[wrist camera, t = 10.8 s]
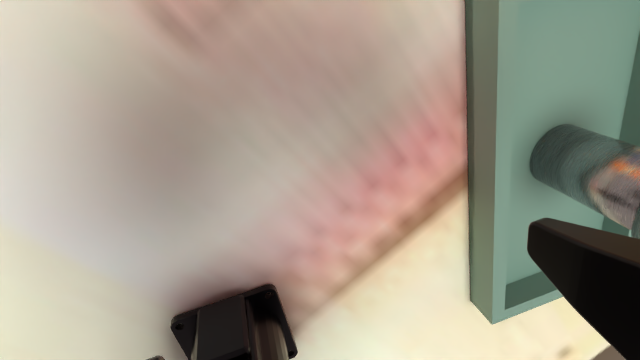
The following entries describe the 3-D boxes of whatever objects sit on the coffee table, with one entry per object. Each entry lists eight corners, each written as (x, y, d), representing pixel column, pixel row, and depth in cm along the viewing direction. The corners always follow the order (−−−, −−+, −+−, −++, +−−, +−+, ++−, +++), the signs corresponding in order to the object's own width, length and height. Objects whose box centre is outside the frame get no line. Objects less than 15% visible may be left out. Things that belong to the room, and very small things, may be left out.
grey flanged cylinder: (583, 177, 25) (727, 243, 18) (518, 199, 24) (641, 277, 17) (597, 105, 22) (769, 149, 16) (525, 127, 22) (671, 183, 15)
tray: (599, 251, 30) (630, 270, 28) (470, 300, 28) (492, 324, 26) (659, -60, 20) (715, -70, 18) (465, -12, 18) (499, -16, 16)
